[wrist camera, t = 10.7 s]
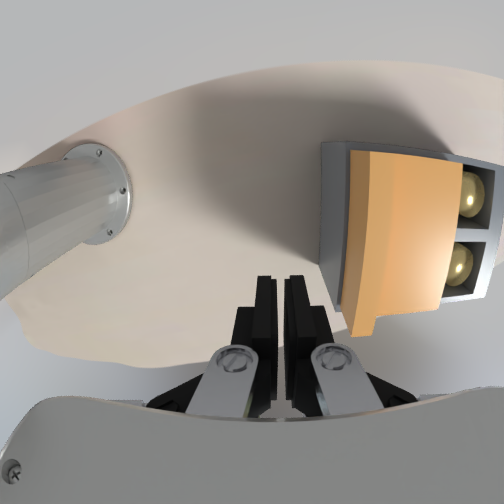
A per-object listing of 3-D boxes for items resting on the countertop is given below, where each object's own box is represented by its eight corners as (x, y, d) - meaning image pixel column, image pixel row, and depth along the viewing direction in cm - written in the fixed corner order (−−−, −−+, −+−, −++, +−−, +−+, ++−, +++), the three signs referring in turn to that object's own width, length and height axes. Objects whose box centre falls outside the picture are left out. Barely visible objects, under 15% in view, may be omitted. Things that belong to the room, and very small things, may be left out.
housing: (318, 265, 31) (335, 312, 22) (321, 142, 26) (345, 141, 17) (444, 261, 30) (484, 297, 21) (456, 157, 25) (508, 167, 16)
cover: (340, 307, 22) (351, 337, 18) (350, 149, 17) (370, 151, 14) (430, 300, 21) (450, 324, 17) (451, 161, 17) (481, 167, 13)
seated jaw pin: (403, 253, 30) (439, 287, 21) (406, 220, 28) (447, 247, 20) (429, 252, 30) (467, 284, 21) (433, 221, 28) (476, 246, 20)
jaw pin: (409, 196, 27) (452, 216, 19) (410, 161, 26) (456, 170, 18) (436, 198, 27) (481, 218, 19) (438, 165, 26) (486, 175, 17)
